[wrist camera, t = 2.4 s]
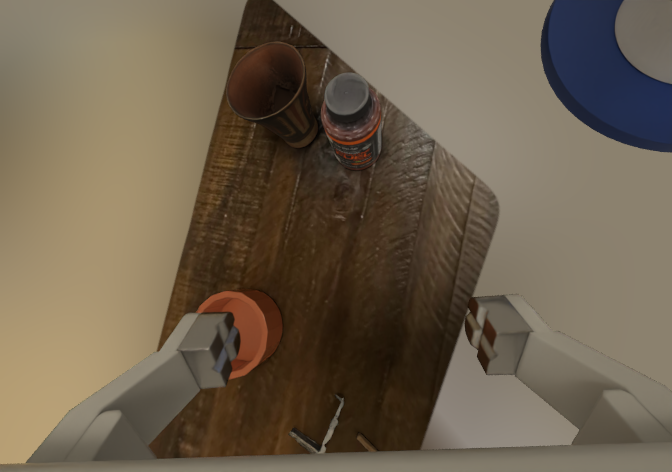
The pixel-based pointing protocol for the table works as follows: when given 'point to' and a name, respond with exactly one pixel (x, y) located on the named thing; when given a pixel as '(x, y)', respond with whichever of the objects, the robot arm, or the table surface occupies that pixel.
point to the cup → (274, 92)
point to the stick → (366, 443)
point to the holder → (249, 325)
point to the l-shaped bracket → (311, 442)
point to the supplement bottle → (352, 121)
